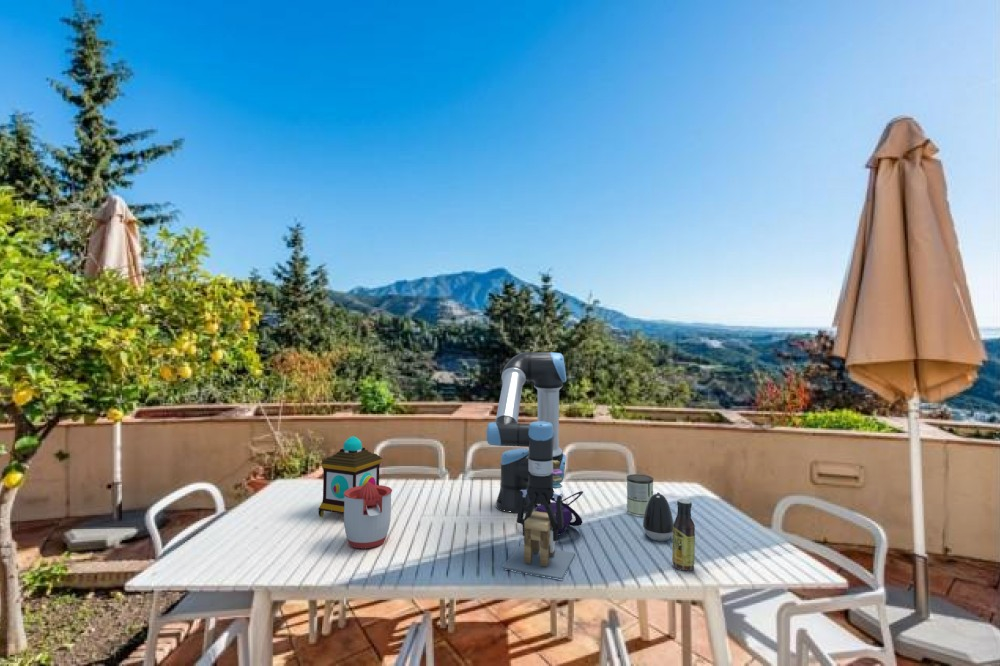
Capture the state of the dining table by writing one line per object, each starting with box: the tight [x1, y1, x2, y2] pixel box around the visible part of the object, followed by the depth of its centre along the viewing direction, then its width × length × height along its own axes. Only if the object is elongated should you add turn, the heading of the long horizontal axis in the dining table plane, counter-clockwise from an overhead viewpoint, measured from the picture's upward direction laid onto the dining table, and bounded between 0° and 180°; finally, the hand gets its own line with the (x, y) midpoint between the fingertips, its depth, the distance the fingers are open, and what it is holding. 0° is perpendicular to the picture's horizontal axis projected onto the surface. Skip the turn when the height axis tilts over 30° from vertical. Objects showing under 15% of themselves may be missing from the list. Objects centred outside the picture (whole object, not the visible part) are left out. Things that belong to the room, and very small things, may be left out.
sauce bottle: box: [671, 498, 696, 571], centre depth 142 cm, size 6×6×20 cm
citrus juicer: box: [343, 482, 393, 549], centre depth 157 cm, size 16×17×20 cm
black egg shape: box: [642, 491, 674, 542], centre depth 164 cm, size 10×10×15 cm
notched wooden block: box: [523, 510, 556, 566], centre depth 144 cm, size 10×7×12 cm
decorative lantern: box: [318, 436, 383, 518], centre depth 186 cm, size 20×20×30 cm
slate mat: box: [501, 543, 576, 580], centre depth 144 cm, size 18×18×1 cm
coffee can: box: [626, 473, 654, 518], centre depth 191 cm, size 10×10×14 cm
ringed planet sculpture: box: [529, 460, 584, 535], centre depth 170 cm, size 22×21×25 cm
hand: (540, 548), depth 144 cm, fingers closed on notched wooden block, 7 cm apart
